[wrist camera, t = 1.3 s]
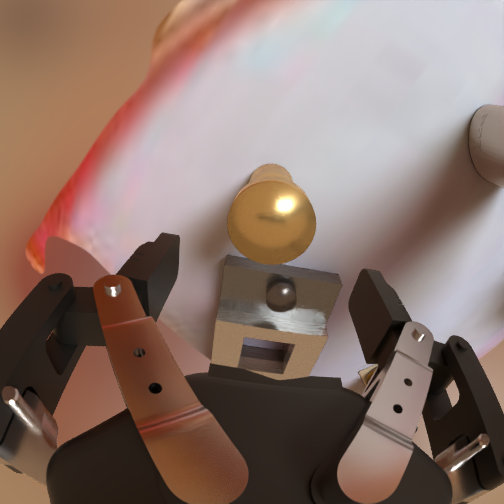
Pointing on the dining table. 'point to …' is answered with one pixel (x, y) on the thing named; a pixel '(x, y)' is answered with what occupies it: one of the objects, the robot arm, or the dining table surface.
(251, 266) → the slotted plate with knobs
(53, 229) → the dining table surface
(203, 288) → the dining table surface
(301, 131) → the dining table surface
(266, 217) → the brass pin
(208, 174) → the dining table surface
